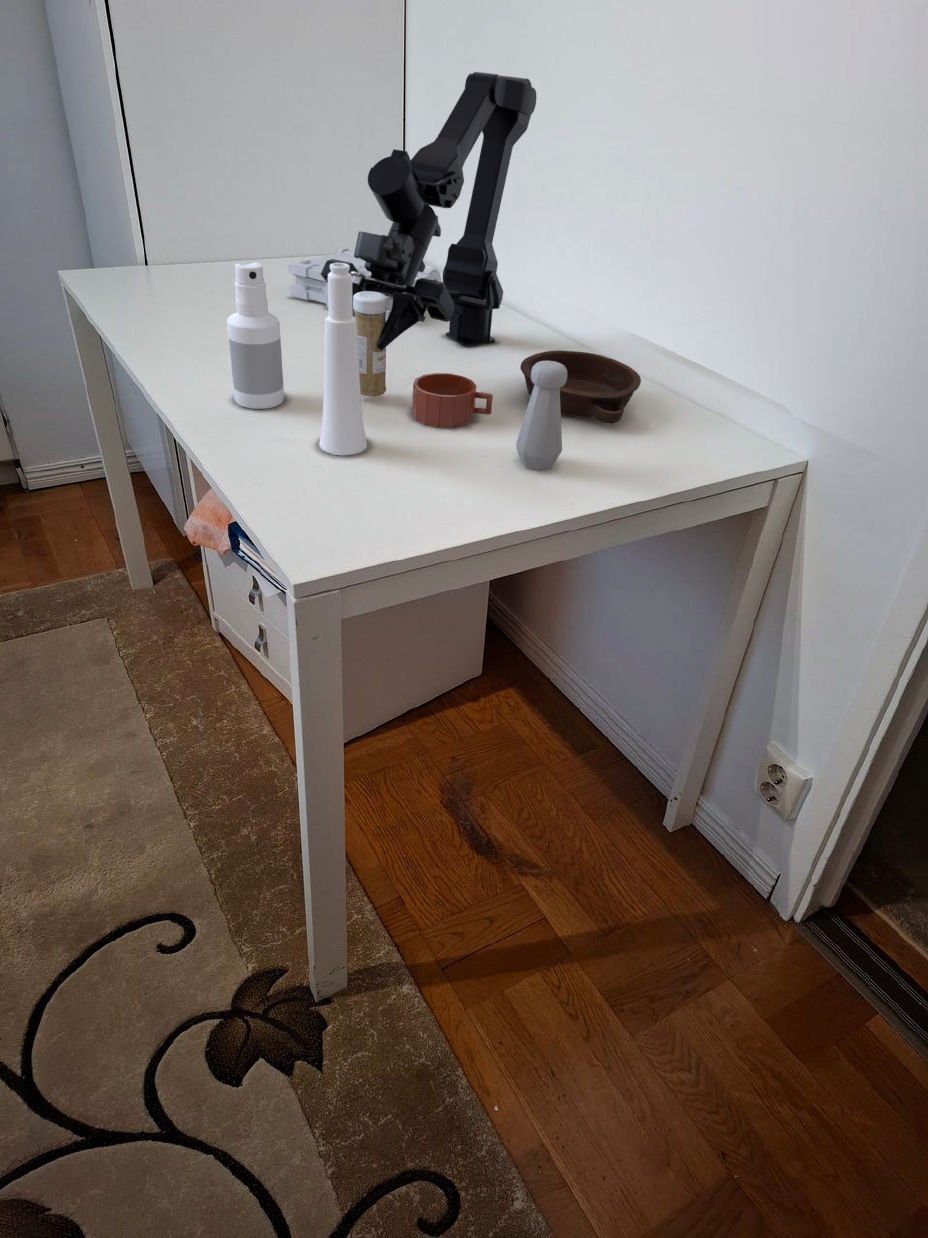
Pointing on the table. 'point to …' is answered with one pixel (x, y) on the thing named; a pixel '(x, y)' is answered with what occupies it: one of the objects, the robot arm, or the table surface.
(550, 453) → the salt shaker
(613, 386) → the dish
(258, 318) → the spray bottle
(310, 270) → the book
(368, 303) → the sprinkles bottle
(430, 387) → the cup
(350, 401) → the cosmetic bottle
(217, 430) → the table surface
